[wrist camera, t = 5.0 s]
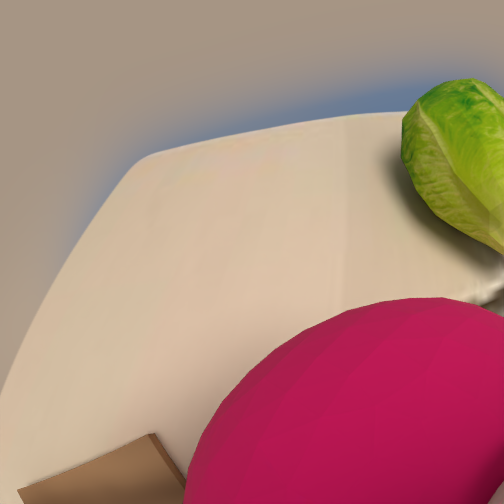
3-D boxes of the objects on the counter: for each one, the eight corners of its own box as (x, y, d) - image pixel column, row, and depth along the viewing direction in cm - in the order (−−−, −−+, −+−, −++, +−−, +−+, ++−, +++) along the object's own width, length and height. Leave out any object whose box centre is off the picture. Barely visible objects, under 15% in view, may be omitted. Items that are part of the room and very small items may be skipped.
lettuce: (431, 302, 28) (525, 239, 15) (363, 146, 36) (394, 45, 22) (523, 263, 29) (600, 206, 15) (458, 137, 37) (500, 61, 23)
